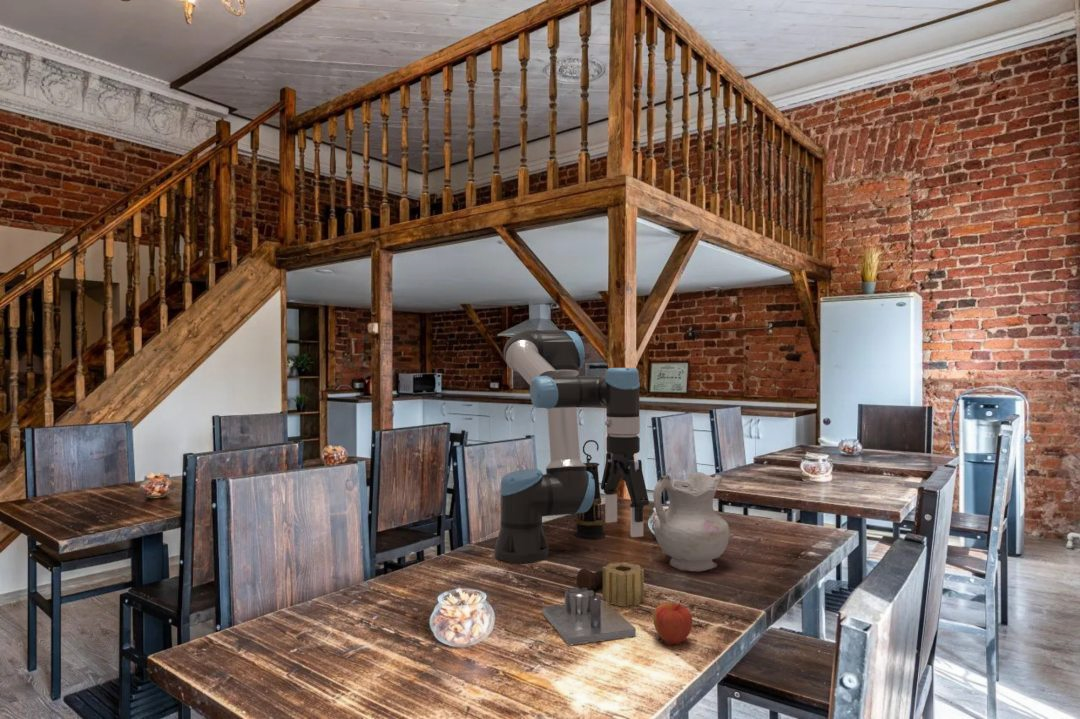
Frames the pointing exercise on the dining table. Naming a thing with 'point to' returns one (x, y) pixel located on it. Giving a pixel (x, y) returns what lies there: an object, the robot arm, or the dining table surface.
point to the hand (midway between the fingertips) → (623, 529)
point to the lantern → (589, 521)
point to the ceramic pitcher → (690, 522)
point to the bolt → (589, 579)
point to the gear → (623, 584)
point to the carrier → (587, 618)
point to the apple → (672, 622)
